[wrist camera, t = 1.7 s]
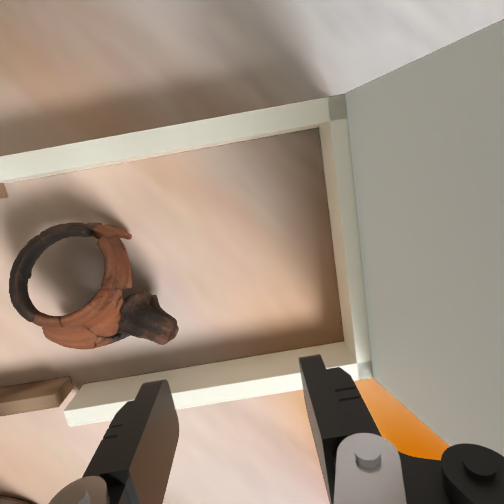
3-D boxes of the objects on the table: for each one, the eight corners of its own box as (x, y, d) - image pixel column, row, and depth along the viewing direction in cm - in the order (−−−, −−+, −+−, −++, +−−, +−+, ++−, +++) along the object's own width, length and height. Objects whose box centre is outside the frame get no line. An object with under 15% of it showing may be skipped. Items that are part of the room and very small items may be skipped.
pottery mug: (49, 326, 30) (-33, 317, 22) (99, 230, 32) (40, 190, 24) (172, 379, 28) (130, 390, 20) (216, 273, 30) (194, 244, 22)
